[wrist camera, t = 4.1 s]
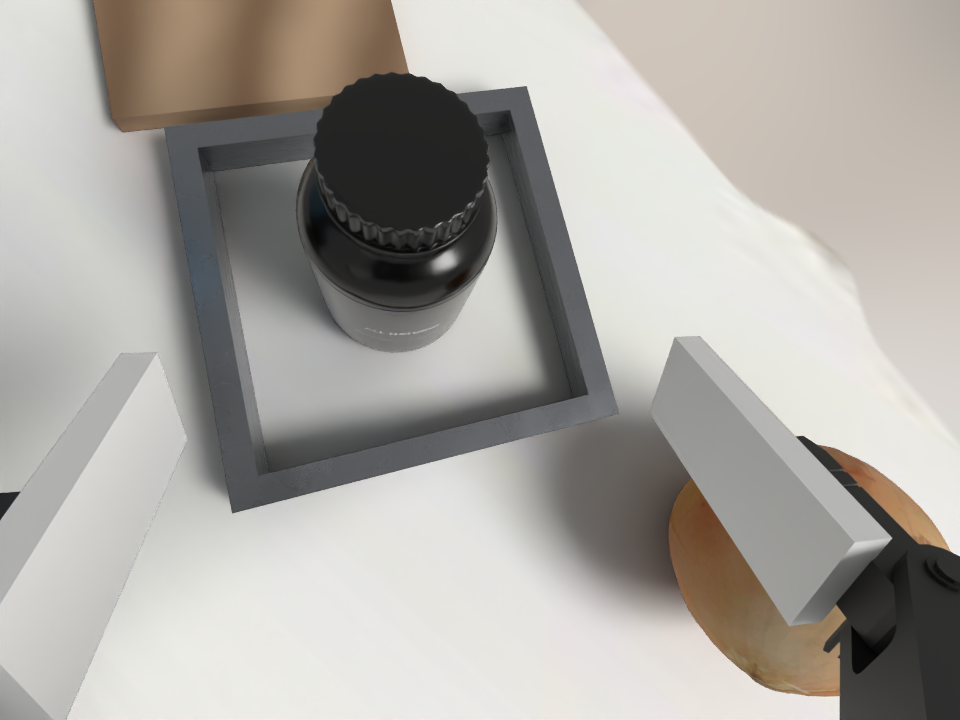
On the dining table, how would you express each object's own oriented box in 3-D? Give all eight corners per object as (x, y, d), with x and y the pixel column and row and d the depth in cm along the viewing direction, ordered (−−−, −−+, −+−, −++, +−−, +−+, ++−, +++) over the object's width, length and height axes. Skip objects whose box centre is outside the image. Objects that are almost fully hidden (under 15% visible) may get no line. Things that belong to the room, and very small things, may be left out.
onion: (607, 612, 24) (750, 720, 15) (657, 414, 26) (811, 392, 17) (786, 670, 25) (1032, 807, 15) (820, 474, 27) (1055, 487, 18)
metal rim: (246, 507, 22) (232, 513, 21) (182, 152, 25) (164, 126, 23) (602, 416, 26) (619, 413, 24) (517, 111, 28) (526, 86, 26)
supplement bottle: (386, 384, 24) (379, 323, 13) (295, 275, 25) (206, 117, 13) (492, 298, 26) (572, 175, 14) (406, 197, 26) (417, -5, 15)
